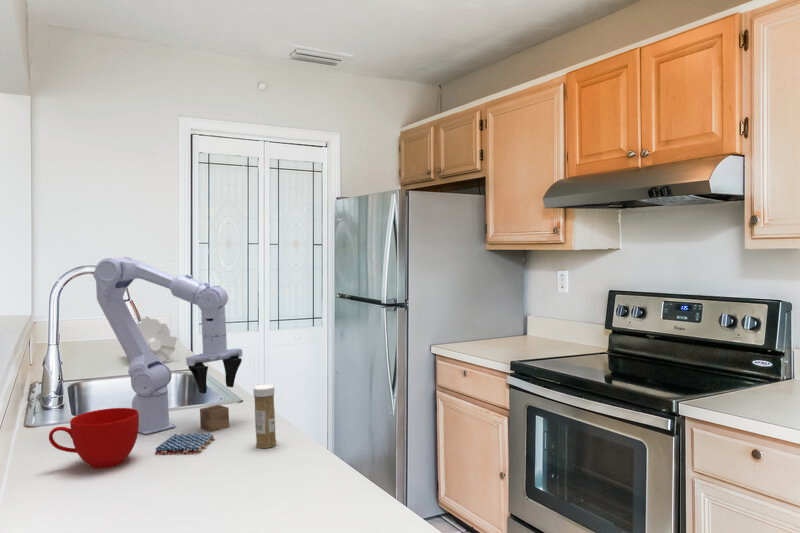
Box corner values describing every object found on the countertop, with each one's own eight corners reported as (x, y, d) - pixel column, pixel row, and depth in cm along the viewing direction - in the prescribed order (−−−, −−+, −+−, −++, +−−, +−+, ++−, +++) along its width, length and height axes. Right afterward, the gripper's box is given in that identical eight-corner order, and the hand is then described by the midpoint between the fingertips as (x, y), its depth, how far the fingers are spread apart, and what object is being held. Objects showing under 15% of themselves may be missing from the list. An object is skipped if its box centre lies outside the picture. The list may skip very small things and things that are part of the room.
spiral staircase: (144, 377, 234) (132, 364, 255) (186, 353, 242) (171, 342, 263) (121, 337, 228) (110, 328, 249) (164, 314, 236) (151, 306, 257)
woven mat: (152, 458, 130) (151, 448, 130) (172, 441, 141) (172, 433, 141) (199, 457, 130) (198, 448, 130) (216, 441, 140) (216, 432, 140)
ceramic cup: (54, 461, 128) (52, 415, 128) (140, 448, 135) (138, 404, 135) (45, 482, 116) (43, 431, 116) (140, 467, 123) (138, 419, 123)
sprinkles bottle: (279, 446, 134) (277, 386, 134) (259, 450, 131) (257, 389, 131) (271, 440, 138) (269, 382, 137) (252, 445, 135) (250, 386, 135)
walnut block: (200, 428, 149) (199, 408, 149) (218, 423, 153) (217, 404, 153) (211, 432, 146) (210, 412, 146) (229, 427, 150) (228, 407, 150)
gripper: (196, 340, 141) (198, 398, 141) (248, 332, 152) (250, 386, 152) (180, 338, 145) (183, 394, 146) (232, 331, 156) (234, 382, 157)
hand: (216, 389), depth 149 cm, fingers open, 7 cm apart
